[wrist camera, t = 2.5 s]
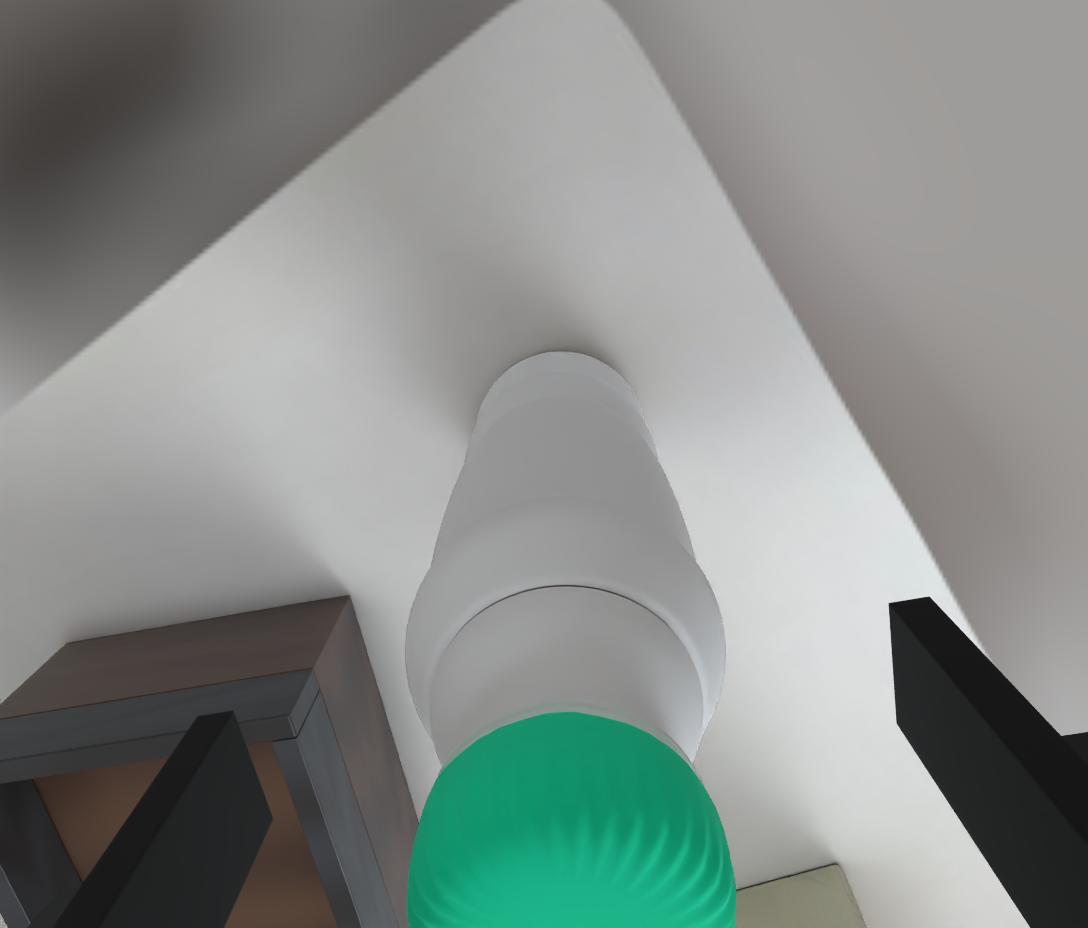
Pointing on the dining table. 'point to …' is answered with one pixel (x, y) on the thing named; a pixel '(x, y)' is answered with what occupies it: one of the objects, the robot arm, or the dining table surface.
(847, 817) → the dining table surface
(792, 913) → the beige rectangular block
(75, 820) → the open rectangular box
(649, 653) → the water bottle
